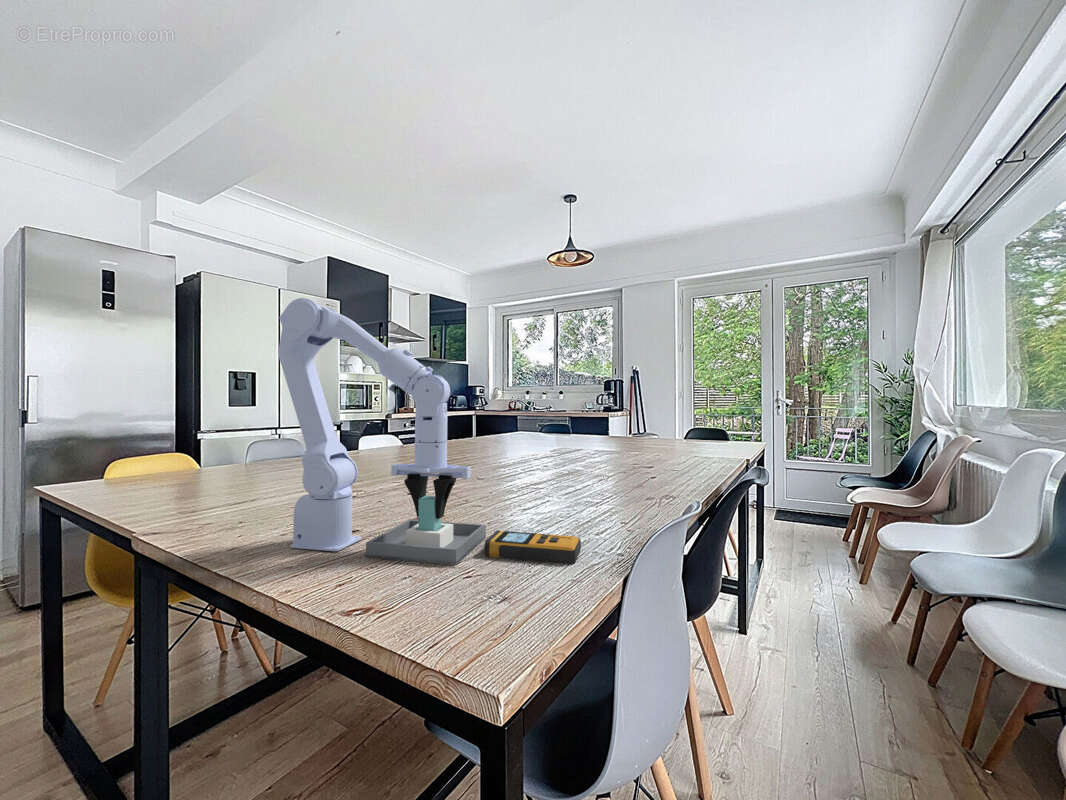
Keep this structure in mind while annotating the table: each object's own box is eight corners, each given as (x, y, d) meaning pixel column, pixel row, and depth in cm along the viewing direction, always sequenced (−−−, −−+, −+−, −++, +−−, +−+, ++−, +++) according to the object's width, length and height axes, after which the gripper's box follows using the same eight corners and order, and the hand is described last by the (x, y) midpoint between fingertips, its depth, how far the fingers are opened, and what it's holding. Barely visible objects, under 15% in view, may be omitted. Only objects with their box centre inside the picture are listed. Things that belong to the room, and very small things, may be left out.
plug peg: (418, 532, 87) (418, 499, 86) (425, 527, 89) (425, 495, 89) (434, 533, 86) (434, 500, 86) (440, 529, 89) (441, 496, 89)
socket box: (365, 557, 82) (366, 536, 82) (408, 532, 97) (409, 514, 97) (456, 565, 78) (456, 543, 78) (485, 537, 94) (485, 519, 94)
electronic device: (574, 569, 79) (575, 548, 79) (483, 560, 83) (483, 540, 83) (581, 553, 87) (581, 534, 87) (497, 545, 91) (498, 527, 91)
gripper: (383, 442, 85) (382, 519, 85) (461, 444, 82) (460, 524, 82) (401, 439, 92) (401, 510, 92) (474, 441, 89) (474, 515, 89)
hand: (430, 516), depth 88 cm, fingers closed on plug peg, 3 cm apart
